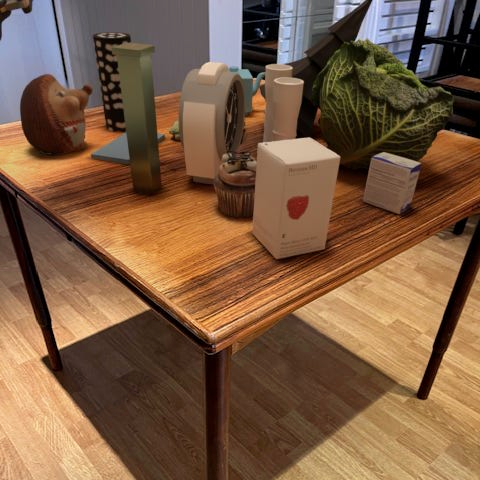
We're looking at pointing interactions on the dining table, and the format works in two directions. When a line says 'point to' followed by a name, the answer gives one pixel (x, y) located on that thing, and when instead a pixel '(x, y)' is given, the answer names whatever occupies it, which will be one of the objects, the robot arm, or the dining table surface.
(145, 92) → the olive green post
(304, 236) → the rectangular carton
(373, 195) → the box
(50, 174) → the dining table surface
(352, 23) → the decorative tree
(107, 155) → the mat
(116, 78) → the white-spotted black cylinder
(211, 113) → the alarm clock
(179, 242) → the dining table surface
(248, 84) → the teapot
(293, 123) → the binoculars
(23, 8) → the robot arm
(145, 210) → the dining table surface
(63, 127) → the figurine
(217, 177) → the cupcake
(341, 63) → the cabbage
